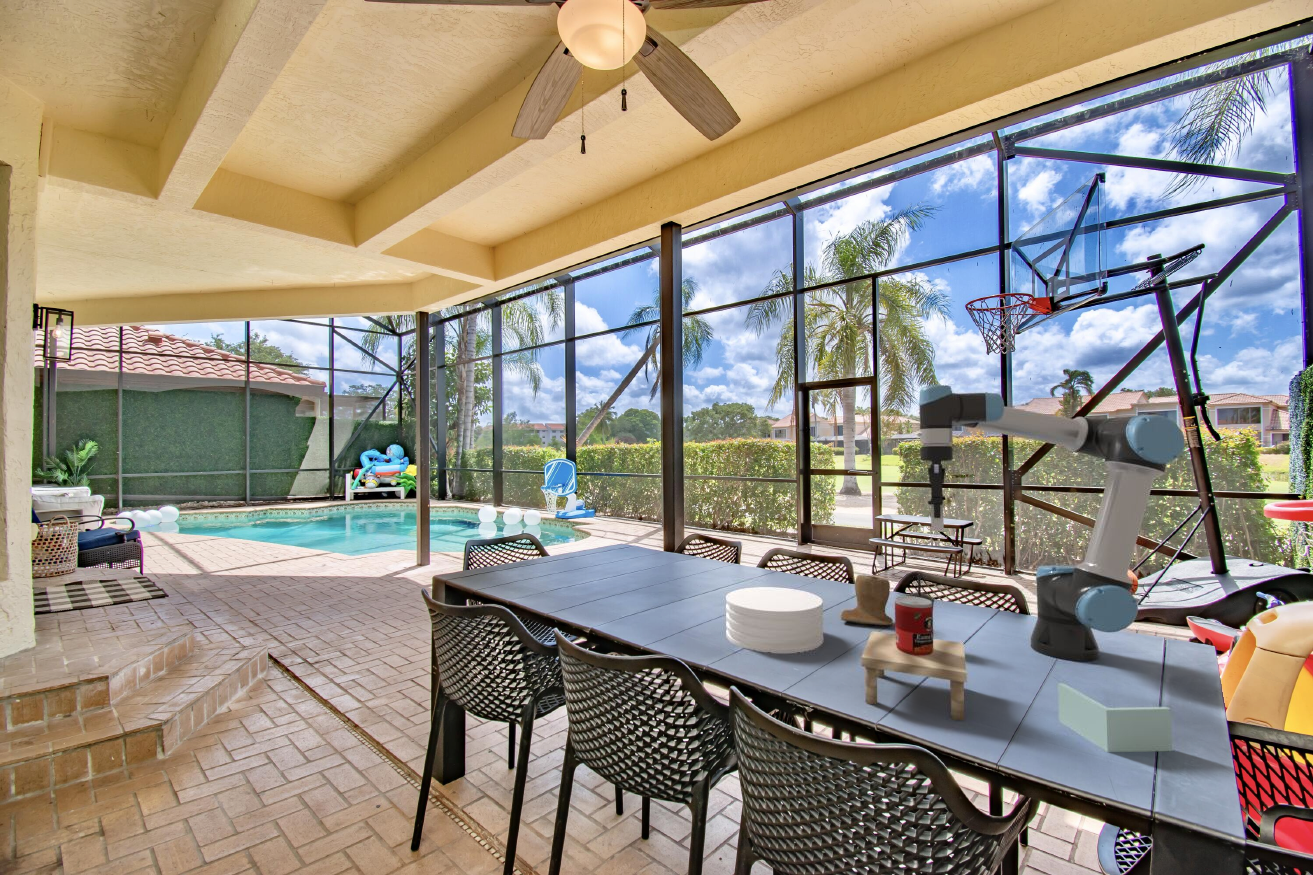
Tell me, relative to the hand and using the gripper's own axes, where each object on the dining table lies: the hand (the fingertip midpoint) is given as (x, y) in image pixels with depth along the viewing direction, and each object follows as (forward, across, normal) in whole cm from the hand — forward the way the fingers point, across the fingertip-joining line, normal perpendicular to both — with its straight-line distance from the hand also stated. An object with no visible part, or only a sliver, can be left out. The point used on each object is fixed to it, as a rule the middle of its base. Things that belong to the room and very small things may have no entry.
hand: (937, 528), depth 146 cm
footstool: (+35, +23, -5) cm, 42 cm away
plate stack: (+35, -3, -44) cm, 56 cm away
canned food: (+25, +23, -5) cm, 34 cm away
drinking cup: (+35, -12, -5) cm, 37 cm away
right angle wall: (+35, +26, +30) cm, 53 cm away
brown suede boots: (+35, -30, -21) cm, 51 cm away
